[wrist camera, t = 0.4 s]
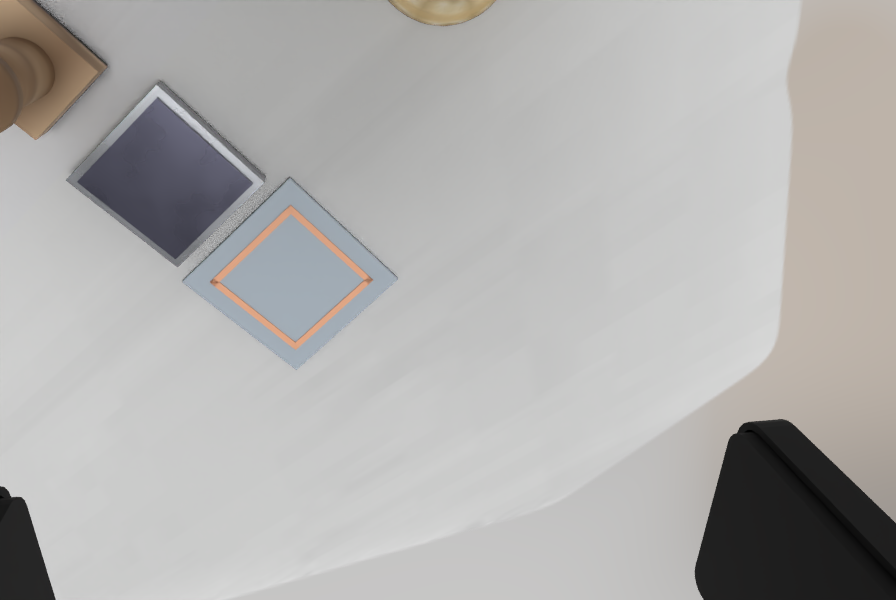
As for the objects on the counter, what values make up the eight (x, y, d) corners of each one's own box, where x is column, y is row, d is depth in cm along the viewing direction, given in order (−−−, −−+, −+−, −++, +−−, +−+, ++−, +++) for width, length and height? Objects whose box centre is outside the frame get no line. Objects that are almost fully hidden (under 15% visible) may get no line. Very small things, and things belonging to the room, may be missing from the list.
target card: (183, 280, 43) (182, 282, 43) (289, 177, 41) (289, 179, 41) (296, 367, 47) (296, 370, 47) (397, 277, 45) (398, 280, 45)
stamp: (-37, 58, 36) (-136, 90, 28) (24, -12, 35) (-60, 0, 27) (50, 129, 38) (-18, 177, 30) (110, 65, 37) (56, 97, 29)
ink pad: (72, 173, 39) (64, 181, 38) (160, 80, 38) (155, 85, 36) (180, 259, 42) (176, 269, 41) (265, 176, 41) (263, 184, 40)
